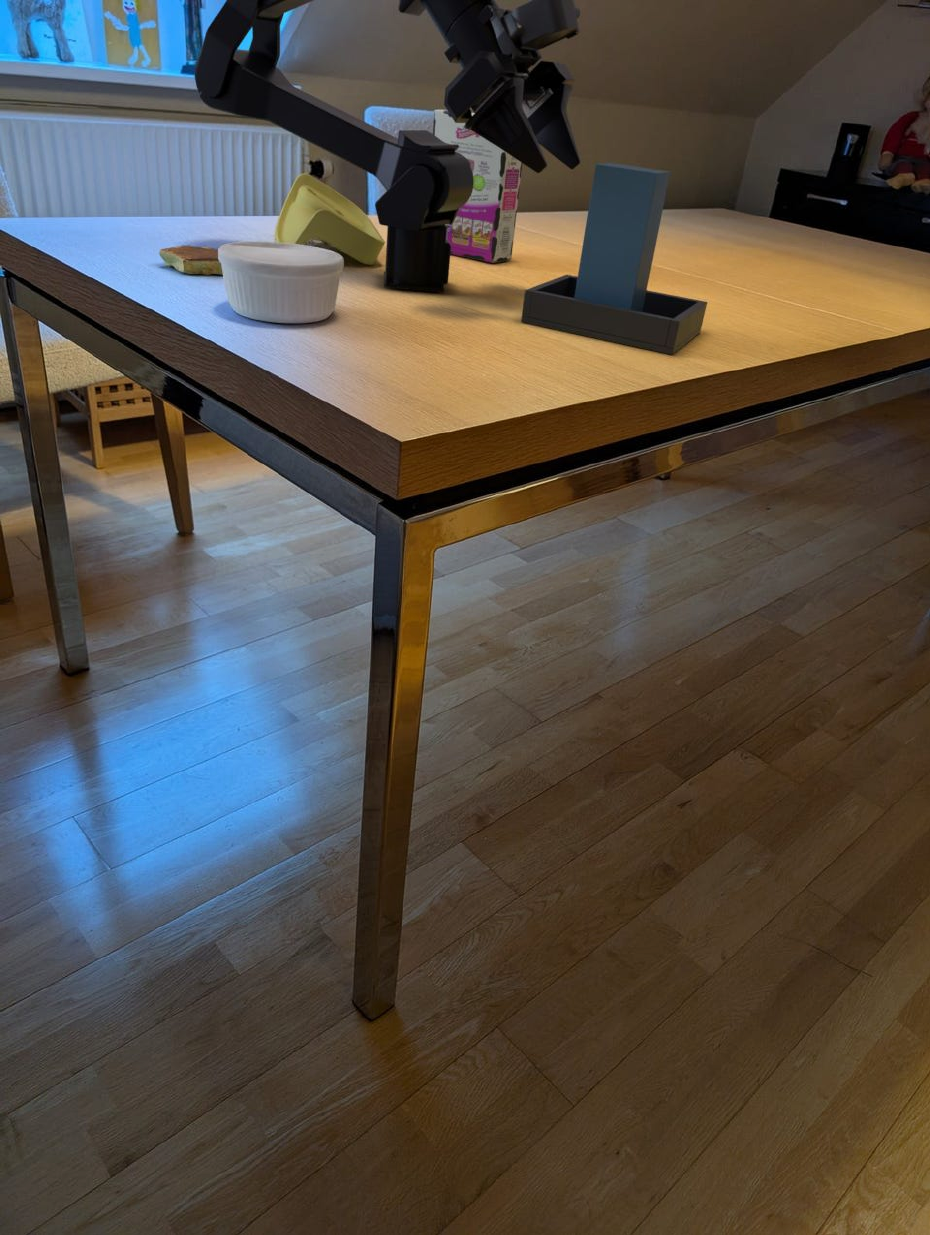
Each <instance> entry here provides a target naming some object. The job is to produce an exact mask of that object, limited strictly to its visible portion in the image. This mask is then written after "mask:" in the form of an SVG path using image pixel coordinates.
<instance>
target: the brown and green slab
mask: <svg viewBox="0 0 930 1235" xmlns="http://www.w3.org/2000/svg"><path fill="white" fill-rule="evenodd" d="M218 249H219V248H215V247H210V246H194V245H179V246H171V247H165V248H161V249H160V250H159V251H158V255H159V257H160V258H161V259H162V261H163V262H164V265H165V266H167V267H171V266H172V267H174V268H175V269H176V271H178V272H180V273H185V274H186V275H205V276H207V275H208V276H209V275H222V276H223V272H222V266H221V263H220V261H219V259H218Z"/></svg>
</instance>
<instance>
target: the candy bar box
mask: <svg viewBox="0 0 930 1235" xmlns="http://www.w3.org/2000/svg"><path fill="white" fill-rule="evenodd" d="M471 113H472V116H473V115H474V114H475V113H474V112H471ZM432 125H433V126H432V134H433V135H435V136H436V137H437V138H439V139H440V140H441V141H443V142H445V143H448V144H458V145H459V148H458V149H457V150H456V151H455V152H458V153H460V154H461V155H463V156H464V157H465V158H466V159H467V160H468V161H469V162H470V167H471V170H472V173H473V180H474V185H473V191H472V194H471V196H470V198H469V200H468V201H467V202H466V204H465V205H464V206H463V207H461V208H460V209H459V211H458V213H457V216H456V218H455V221H454V223H453V224H451V225H448V224H447V225H445V226H446V228H447V235H446V240H448V241H449V242H450V244H451V253H450V255H452V256H457V257H462V258H468V259H472V260H476V261H482V262H485V263H491V264H495V263H503V262H508V261H511V260H512V256H513V247H514V241H515V240H514V239H515V231H516V222H517V213H518V212H517V211H518V207H519V206H518V205H519V196H520V186H521V179H522V170H523V163H521V162H520V161H518V160H517V159H515V158H514V157H512V156H511V155H510V154H508V153H507V152H505V151H503V150H502V149H500V148H499V147H497V146H496V145H494V144H493V143H491V142H489V141H488V140H486V139H485V138H483V137H481V136H480V135H478V134H477V133H475V132H473V131H472V130H468V129H467V128H466V127H465V123H455V121H454V120H453V118H452V117H451V115H450V113H449V112H448V110H447V109H434V112H433V124H432Z"/></svg>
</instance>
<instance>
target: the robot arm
mask: <svg viewBox="0 0 930 1235" xmlns="http://www.w3.org/2000/svg"><path fill="white" fill-rule="evenodd" d="M314 1H315V0H225V2H224V3H223V5H222V7H221V8H220V10H219V11H218V13H216V16H215V17H214V19H213V20H212V22H211V23H210V25H209V26H208V28H207V29H206V32H205V35H204V38H203V42H202V46H201V50H200V52H199V55H198V56H197V58H196V61H195V65H194V81H195V87H196V89H197V92H198V97H199V99H200V100H201V102H202V103H203V104H205V106H207V107H208V108H210V109H213V110H216V111H220V112H224V113H227V114H232V115H235V116H239V117H246V118H249V119H250V118H251V119H256V120H261V121H265V122H269V123H271V124H273V125H275V126H277V127H279V128H282V130H285V131H287V132H288V133H290V134H292V135H294V136H296V137H298V138H300V139H303V140H304V141H307V142H308V143H310V144H312V145H314V146H316V147H318V148H320V149H322V150H323V151H326V152H328V153H329V154H331V155H334V156H336V157H338V158H340V159H341V160H343V161H345V162H347V163H349V164H351V165H353V166H355V167H357V168H359V169H361V170H363V171H365V172H367V173H368V174H370V175H372V176H374V177H375V178H376V179H377V180H378V181H379V183H380V184H381V186H383V188H384V190H386V191H385V192H384V193H383V194H382V196H380V197H379V198H378V199H377V200H376V201H375V203H374V207H375V211H376V215H377V220H378V224H379V225H381V226H385V227H387V229H386V230H387V231H386V246H385V247H386V250H385V266H384V267H385V270H384V271H383V287H384V288H389V289H401V290H402V289H403V290H413V291H424V292H425V291H426V292H436V293H444V292H445V285H447V284H448V283H449V274H450V265H451V264H450V263H451V254H450V253H451V244H450V242H449V241H448V240H446V235H447V228H446V226H445V225H447V224H448V225H451V224H453V223H454V221H455V218H456V216H457V213H458V211H459V209H460V208H461V207H463V206H464V205H465V204H466V202H467V201H468V200H469V198H470V196H471V194H472V191H473V185H474V180H473V173H472V170H471V167H470V162H469V161H468V160H467V159H466V158H465V157H464V156H463V155H461V154H460V153H458V152H455V151H456V150H457V149H458V148H459V145H458V144H448V143H445V142H443V141H441V140H440V139H439V138H437V137H436V136H435V135H433V132H430V131H428V130H427V129H409V130H408V129H406V130H403V129H401V130H398V137H396V136H393V135H392V134H389V132H388V133H387V132H386V131H383V130H382V129H380V128H378V127H375V126H374V125H372V124H370V123H368V122H365V121H364V120H362V119H359V118H357V117H356V116H354V115H351V114H350V113H348V112H346V111H343V110H342V109H340V108H337V107H335V106H334V105H332V104H330V103H328V102H326V101H324V100H322V99H320V98H318V97H315V96H313V95H312V94H309V93H307V92H306V91H304V90H303V89H300V88H298V87H296V86H294V85H293V84H291V83H290V81H289V79H288V78H287V77H286V75H284V73H283V72H282V71H281V69H279V68H278V67H277V66H278V63H279V60H280V56H281V24H282V21H283V19H284V14H286V13H288V12H291V11H292V10H295V9H297V8H300V7H302V6H304V5H307V4H309V3H311V2H314ZM397 10H398V11H399V13H401V14H405V15H410V16H413V17H420V16H421V15H422V14H423V13H424V12H426V13H427V15H428V16H429V18H430V20H431V21H432V22H433V24H434V26H435V28H436V29H437V31H438V33H439V34H440V35H441V37H442V39H443V40H444V42H445V44H446V45H447V47H448V48H447V49H446V50H445V51H444V53H443V54H444V56H445V57H446V58H447V60H448V61H449V62H448V63H450V64H458V65H459V66H460V68H461V70H460V72H459V73H458V74H457V75H456V76H455V77H454V78H453V79H452V80H451V81H450V82H449V84H448V85H446V87H445V89H444V99H443V106H444V107H445V110H448V112H449V113H450V115H451V117H452V118H453V120H454V121H455V123H465V127H466V128H467V129H468V130H472V131H473V132H475V133H477V134H478V135H480V136H481V137H483V138H485V139H486V140H488V141H489V142H491V143H493V144H494V145H496V146H497V147H499V148H500V149H502V150H503V151H505V152H507V153H508V154H510V155H511V156H512V157H514V158H515V159H517V160H518V161H520V162H521V163H522V165H524V166H526V167H527V168H529V169H530V170H532V171H533V172H535V173H537V174H542V172H544V170H545V169H546V168H548V163H547V160H546V158H545V155H544V152H543V149H545V150H546V151H547V152H549V153H550V155H552V156H554V157H555V158H556V159H557V160H558V161H559V162H561V163H562V164H563V165H565V166H566V167H567V168H569V169H570V170H575V169H576V168H577V167H578V166H580V164H581V162H582V161H581V158H580V154H579V152H578V147H577V143H576V141H575V138H574V134H573V130H572V127H571V124H570V120H569V115H568V112H567V107H568V102H569V98H570V95H571V94H572V92H573V84H574V83H575V78H574V77H573V75H572V73H571V72H570V70H569V68H568V67H567V65H566V63H561V62H555V61H548V60H541V59H542V58H543V55H542V54H541V52H540V51H539V50H542V49H545V48H548V47H549V46H552V45H554V44H556V43H558V42H561V41H562V40H565V39H567V40H570V39H572V38H575V37H576V36H578V35H579V34H580V28H579V22H578V19H579V18H580V16H581V10H580V8H578V7H577V6H576V4H575V2H574V0H529V1H528V2H526V3H524V4H522V5H520V6H518V7H516V8H514V9H513V10H512V9H511V10H510V9H505V8H502V7H501V8H500V6H499V4H498V2H497V1H496V0H398V9H397ZM251 30H252V31H251ZM250 31H251V34H252V35H251V36H252V38H251V42H250V44H249V48H248V50H247V49H239V48H240V45H241V44H242V43H243V41H244V40H245V38H246V37H247V35H248V34H249V33H250ZM536 63H537V64H536ZM533 66H534V67H533ZM531 67H533V68H532V69H531V70H529V69H530V68H531ZM472 113H475V114H474V115H473V116H472ZM541 147H543V149H542V148H541Z"/></svg>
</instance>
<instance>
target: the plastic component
mask: <svg viewBox="0 0 930 1235" xmlns="http://www.w3.org/2000/svg"><path fill="white" fill-rule="evenodd" d="M314 239H317V240H318V241H319V242H323V243H325V244H326V245H329V246H331V247H333V248H335V249H337V250H339V251H340V252H342V253H344V254H346V255H347V256H349V257H350V258H352V259H354V260H356V261H357V262H360V263H362V264H364V265H366V266H371V265H374V264H375V262H376V260H377V258H378V256H379V255H380V253H381V251H382V249H383V247H384V246H385V244H386V241H385V240H384V238H383V236H382V235H381V233H380V232H379V231H378V229H377V228H376V226H375V224H374V223H373V221H372V220H371V218H370V217H369V216H368V215H367V213H365V211H363V209H361V208H360V207H359V206H358V205H356V204H355V203H354V202H352V201H351V200H350V199H348V198H347V197H346V196H344V195H342V194H341V193H339V192H338V191H336V190H335V189H334V188H331V187H330V186H328V185H327V184H326V183H324V182H322V181H320V180H319V179H317V178H315V177H314V176H312V175H310V173H309V174H308V173H305V172H304V173H300V174H298V175H297V176H296V178H295V180H294V181H293V184H292V186H291V188H290V189H289V192H288V194H287V196H286V197H285V200H284V203H283V204H282V208H281V210H280V213H279V215H278V218H277V221H276V225H275V229H274V242H279V243H290V244H299V245H306V246H307V244H308V242H309V241H311V240H314Z"/></svg>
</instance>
